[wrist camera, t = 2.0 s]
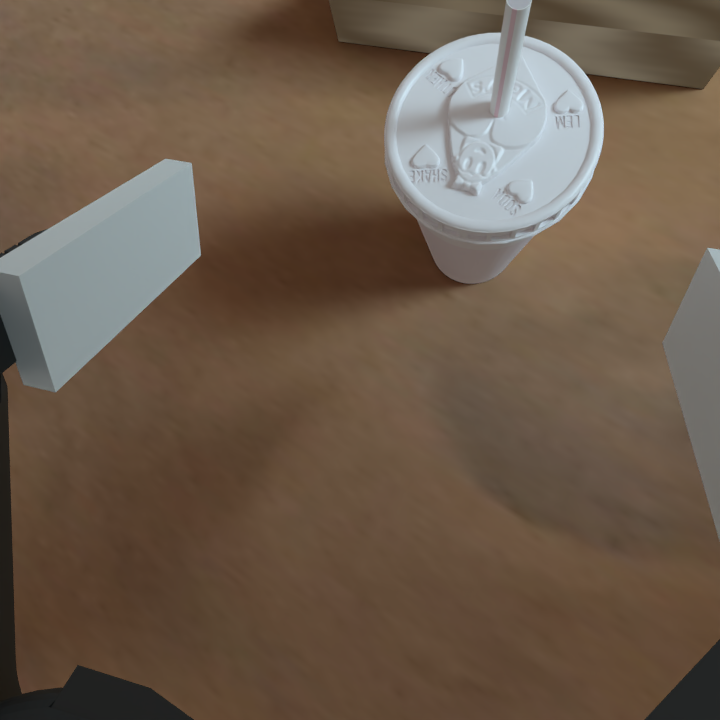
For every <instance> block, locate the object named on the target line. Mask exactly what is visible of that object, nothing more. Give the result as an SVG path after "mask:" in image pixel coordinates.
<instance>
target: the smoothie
mask: <svg viewBox="0 0 720 720" xmlns="http://www.w3.org/2000/svg"><path fill="white" fill-rule="evenodd" d="M531 3H532V0H506V4H505V11H504V17H503V24H502V30H501V33H484V34H477V35H472V36H468V37H465V38H461V39H458V40H455V41H453V42H451V43H448V44H446V45H444V46H442V47H440V48H438V49H437V50H435V51H434V52H432V53H430V54H429V55H428V56H426V57H425V58H424V59H422V60H421V61H420V62H419V63H418V64H417V65H416V66H415V67H414V68H413V69H412V70H411V71H410V72H409V73H408V74H407V76H406V77H405V78H404V79H403V81H402V82H401V84H400V85H399V87H398V89H397V90H396V92H395V94H394V96H393V98H392V101H391V103H390V106H389V109H388V113H387V116H386V122H385V131H384V142H385V165H386V169H387V172H388V176H389V179H390V183H391V186H392V188H393V190H394V191H395V193H396V195H397V196H398V198H399V199H400V201H401V203H402V204H403V206H404V207H405V209H406V210H407V211H408V212H409V213H410V214H412V215H413V216H414V217H415V218H416V219H417V221H418V224H419V226H420V228H421V231H422V233H423V235H424V238H425V240H426V243H427V245H428V247H429V250H430V252H431V254H432V257H433V259H434V261H435V263H436V265H437V266H438V268H439V269H440V270H441V271H442V272H443V273H444V274H445V275H446V276H448V277H449V278H451V279H453V280H455V281H458V282H461V283H467V284H476V283H482V282H485V281H488V280H490V279H492V278H494V277H496V276H497V275H499V274H500V273H501V272H502V271H503V270H504V269H505V268H506V267H507V265H508V264H509V263H510V262H511V261H512V260H513V259H514V258H515V256H516V255H517V254H518V253H519V252H520V251H521V250H522V249H523V248H524V246H525V245H526V244H527V243H528V242H529V241H530V240H531V239H532V237H533V236H535V235H536V234H538V233H540V232H541V231H543V230H545V229H547V228H548V227H550V226H552V225H553V224H555V223H557V222H559V221H560V220H561V219H562V218H563V217H564V216H565V215H566V214H567V213H568V212H569V211H570V210H571V209H572V208H573V207H574V206H575V205H576V204H577V203H578V202H579V200H580V198H581V196H582V195H583V193H584V191H585V189H586V188H587V186H588V184H589V182H590V181H591V179H592V176H593V172H594V169H595V167H596V165H597V162H598V159H599V157H600V154H601V149H602V144H603V136H604V121H603V113H602V108H601V104H600V101H599V98H598V95H597V93H596V91H595V89H594V87H593V85H592V83H591V81H590V80H589V78H588V77H587V75H586V74H585V73H584V71H583V70H582V69H581V68H580V67H579V66H578V65H577V64H576V63H575V62H574V61H573V60H572V59H571V58H570V57H569V56H567V55H566V54H565V53H563V52H562V51H560V50H559V49H557V48H555V47H554V46H552V45H550V44H548V43H545V42H543V41H541V40H538V39H535V38H532V37H529V36H525V31H526V27H527V22H528V17H529V13H530V8H531Z"/></svg>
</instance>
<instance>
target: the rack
mask: <svg viewBox="0 0 720 720" xmlns="http://www.w3.org/2000/svg"><path fill="white" fill-rule="evenodd" d="M329 4H330V8H331V12H332V16H333V20H334V25H335V29H336V33H337V37H338V41H340V42H348V43H355V44H363V45H371V46H378V47H386V48H393V49H401V50H409V51H416V52H424V53H432V52H434V51H435V50H437V49H438V48H440V47H442V46H444V45H446V44H448V43H451V42H453V41H455V40H458V39H461V38H465V37H468V36H472V35H477V34H484V33H501V30H502V24H503V17H504V11H505V4H506V0H329ZM525 36H529V37H532V38H535V39H538V40H541V41H543V42H545V43H548V44H550V45H552V46H554V47H555V48H557V49H559V50H560V51H562V52H563V53H565V54H566V55H567V56H569V57H570V58H571V59H572V60H573V61H574V62H575V63H576V64H577V65H578V66H579V67H580V68H581V69H582V70H583V71H584V73H585V74H592V75H600V76H608V77H615V78H623V79H631V80H638V81H646V82H653V83H661V84H669V85H676V86H684V87H692V88H699V89H704V87H705V86H706V85H707V83H708V82H709V81H710V79H711V78H712V77H713V75H714V74H715V72H716V71H717V70H718V68H719V67H720V0H532V3H531V8H530V13H529V17H528V22H527V27H526V31H525Z"/></svg>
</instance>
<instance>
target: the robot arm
mask: <svg viewBox="0 0 720 720" xmlns="http://www.w3.org/2000/svg"><path fill="white" fill-rule="evenodd" d="M200 256H201V250H200V240H199V231H198V221H197V211H196V201H195V191H194V182H193V172H192V163H188V162H182V161H176V160H170V159H164V160H163V161H161V162H159V163H158V164H156V165H154V166H153V167H151V168H149V169H148V170H146V171H144V172H143V173H141V174H139V175H138V176H136V177H134V178H133V179H131V180H129V181H128V182H126V183H124V184H123V185H121V186H119V187H118V188H116V189H114V190H113V191H111V192H109V193H108V194H106V195H104V196H103V197H101V198H99V199H98V200H96V201H94V202H93V203H91V204H89V205H88V206H86V207H84V208H82V209H81V210H79V211H77V212H76V213H74V214H72V215H71V216H69V217H67V218H66V219H64V220H62V221H61V222H59V223H57V224H56V225H54V226H52V227H51V228H49V229H46V230H43V231H40V232H37V233H34V234H33V235H31V236H29V237H28V238H26V239H24V240H23V241H21V242H19V243H18V246H17V245H14V246H12V247H11V248H9V249H7V250H6V251H5V253H4V254H3V253H1V254H0V720H193V719H192V718H191V717H189V716H188V715H187V714H185V713H184V712H182V711H181V710H180V709H178V708H177V707H176V706H174V705H173V704H171V703H170V702H169V701H167V700H166V699H165V698H163V697H162V696H160V695H159V694H158V693H156V692H155V691H154V690H152V689H151V688H148V687H145V686H142V685H139V684H136V683H133V682H129V681H126V680H123V679H120V678H117V677H114V676H111V675H107V674H104V673H101V672H98V671H95V670H92V669H89V668H85V667H82V666H79V665H77V667H76V669H75V670H74V672H73V673H72V675H71V676H70V678H69V680H68V681H67V683H66V684H65V686H64V687H63V688H53V689H45V690H37V691H33V692H29V693H25V694H22V693H21V689H20V686H19V682H18V677H17V671H16V656H15V623H14V589H13V556H12V523H11V490H10V457H9V424H8V390H7V384H6V382H5V379H4V376H3V374H2V373H3V372H4V371H5V370H6V369H7V368H9V367H10V366H11V365H12V364H14V363H15V362H16V365H17V368H18V371H19V373H20V376H21V379H22V382H23V385H27V386H31V387H35V388H39V389H44V390H48V391H52V392H57V391H58V390H59V389H60V388H61V387H62V386H63V385H64V384H65V383H66V382H67V381H68V380H69V379H70V378H71V377H73V376H74V375H75V374H76V373H77V372H78V371H79V370H80V369H81V368H82V367H83V366H84V365H85V364H86V363H87V362H88V361H90V360H91V359H92V358H93V357H94V356H95V355H96V354H97V353H98V352H99V351H100V350H101V349H102V348H103V347H104V346H105V345H107V344H108V343H109V342H110V341H111V340H112V339H113V338H114V337H115V336H116V335H117V334H118V333H119V332H120V331H121V330H122V329H123V328H125V327H126V326H127V325H128V324H129V323H130V322H131V321H132V320H133V319H134V318H135V317H136V316H137V315H138V314H139V313H140V312H142V311H143V310H144V309H145V308H146V307H147V306H148V305H149V304H150V303H151V302H152V301H153V300H154V299H155V298H156V297H157V296H158V295H160V294H161V293H162V292H163V291H164V290H165V289H166V288H167V287H168V286H169V285H170V284H171V283H172V282H173V281H174V280H175V279H177V278H178V277H179V276H180V275H181V274H182V273H183V272H184V271H185V270H186V269H187V268H188V267H189V266H190V265H191V264H192V263H194V262H195V261H196V260H197V259H198V258H199V257H200ZM663 347H664V350H665V354H666V357H667V361H668V364H669V368H670V371H671V375H672V378H673V382H674V385H675V389H676V392H677V395H678V399H679V402H680V406H681V409H682V413H683V416H684V420H685V423H686V427H687V430H688V434H689V437H690V440H691V444H692V447H693V451H694V454H695V458H696V461H697V465H698V468H699V472H700V475H701V479H702V482H703V486H704V489H705V492H706V496H707V499H708V503H709V506H710V510H711V513H712V517H713V520H714V524H715V527H716V531H717V534H718V538H719V541H720V250H718V249H712V248H707V249H706V251H705V253H704V256H703V258H702V260H701V262H700V264H699V266H698V268H697V270H696V273H695V275H694V277H693V279H692V281H691V283H690V285H689V288H688V290H687V292H686V294H685V296H684V298H683V300H682V302H681V305H680V307H679V309H678V311H677V313H676V315H675V317H674V319H673V322H672V324H671V326H670V328H669V330H668V332H667V334H666V337H665V339H664V341H663ZM645 720H720V640H719V641H718V642H717V643H716V644H715V645H714V646H713V647H712V648H711V649H710V650H709V651H708V653H707V654H706V655H705V656H704V657H703V658H702V659H701V660H700V661H699V662H698V663H697V664H696V665H695V666H694V667H693V669H692V670H691V671H690V672H689V673H688V674H687V675H686V676H685V677H684V678H683V679H682V680H681V681H680V682H679V683H678V685H677V686H676V687H675V688H674V689H673V690H672V691H671V692H670V693H669V694H668V695H667V696H666V697H665V698H664V700H663V701H662V702H661V703H660V704H659V705H658V706H657V707H656V708H655V709H654V710H653V711H652V712H651V713H650V714H649V716H648V717H647V718H646V719H645Z"/></svg>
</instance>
